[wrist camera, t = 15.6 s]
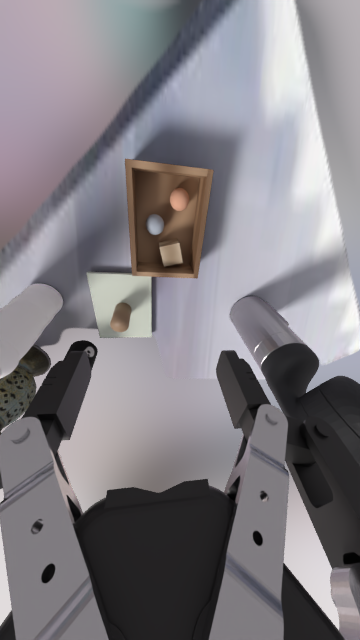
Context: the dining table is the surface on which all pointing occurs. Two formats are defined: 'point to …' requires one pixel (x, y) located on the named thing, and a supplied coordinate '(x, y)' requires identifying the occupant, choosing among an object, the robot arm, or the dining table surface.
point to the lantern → (21, 385)
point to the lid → (121, 304)
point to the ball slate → (154, 224)
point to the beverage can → (86, 347)
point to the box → (166, 216)
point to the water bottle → (25, 322)
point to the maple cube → (170, 252)
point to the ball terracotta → (179, 199)
